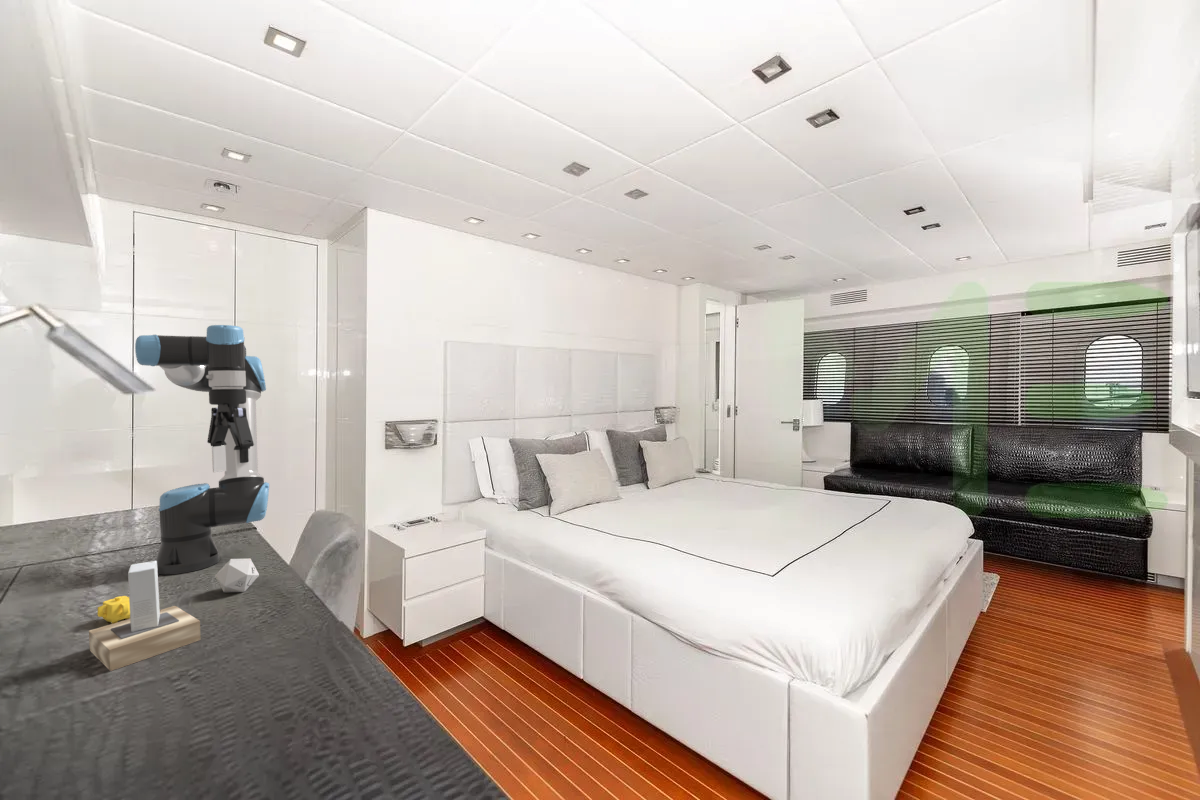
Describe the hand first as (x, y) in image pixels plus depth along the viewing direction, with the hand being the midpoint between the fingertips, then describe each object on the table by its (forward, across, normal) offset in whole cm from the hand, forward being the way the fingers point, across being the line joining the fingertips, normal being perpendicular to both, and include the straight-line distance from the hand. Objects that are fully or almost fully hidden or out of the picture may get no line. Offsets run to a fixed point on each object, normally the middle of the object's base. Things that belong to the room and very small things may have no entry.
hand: (231, 473), depth 131 cm
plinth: (+31, +13, -21) cm, 39 cm away
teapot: (+31, -8, -21) cm, 38 cm away
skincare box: (+27, +13, -21) cm, 36 cm away
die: (+31, -4, +2) cm, 31 cm away
